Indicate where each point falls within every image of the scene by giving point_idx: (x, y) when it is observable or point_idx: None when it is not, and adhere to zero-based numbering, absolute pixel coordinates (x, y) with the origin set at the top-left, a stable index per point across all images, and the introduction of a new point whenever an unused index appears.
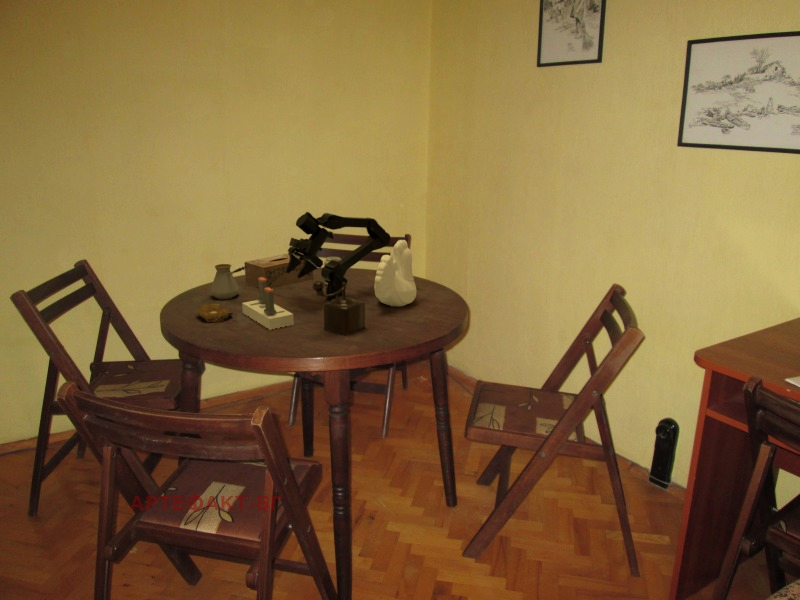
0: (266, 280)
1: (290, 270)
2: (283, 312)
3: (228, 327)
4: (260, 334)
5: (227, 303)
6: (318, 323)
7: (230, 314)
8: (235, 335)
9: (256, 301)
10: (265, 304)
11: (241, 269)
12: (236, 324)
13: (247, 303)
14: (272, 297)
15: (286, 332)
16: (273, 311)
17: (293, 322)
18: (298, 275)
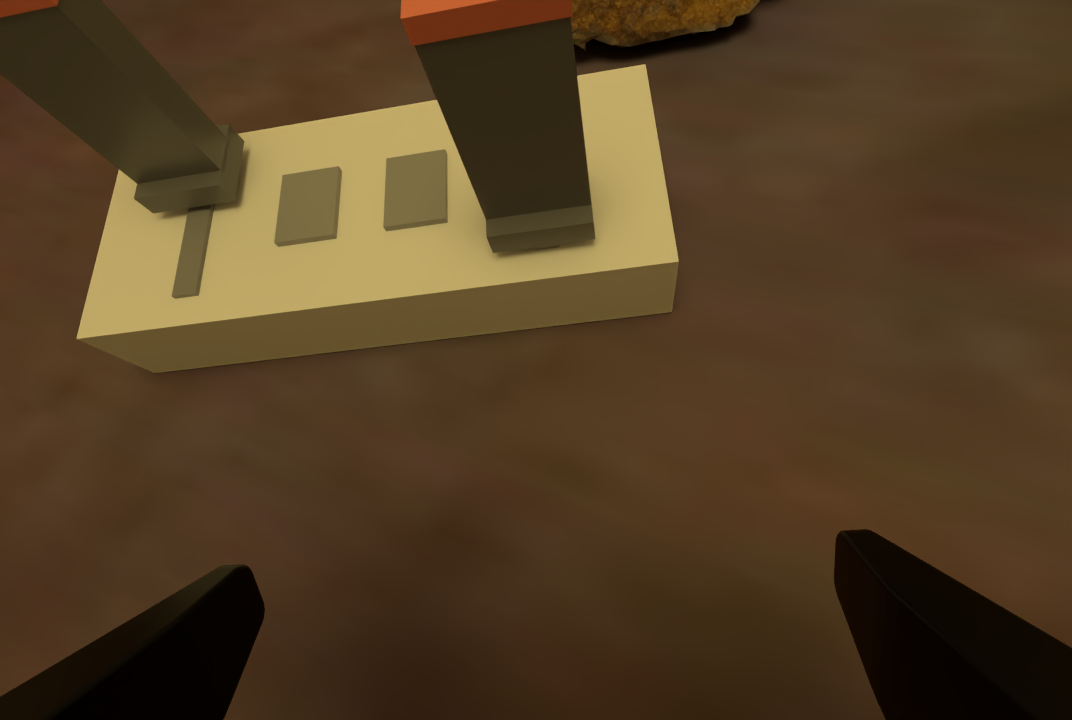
0: (407, 33)
1: (878, 673)
2: (169, 284)
3: (399, 22)
4: None
5: (1001, 81)
6: (41, 562)
7: (586, 35)
8: (249, 36)
9: (620, 171)
10: (193, 103)
11: None
12: None
13: (600, 96)
14: (18, 74)
15: (77, 281)
16: (141, 178)
17: (138, 365)
18: (183, 588)
